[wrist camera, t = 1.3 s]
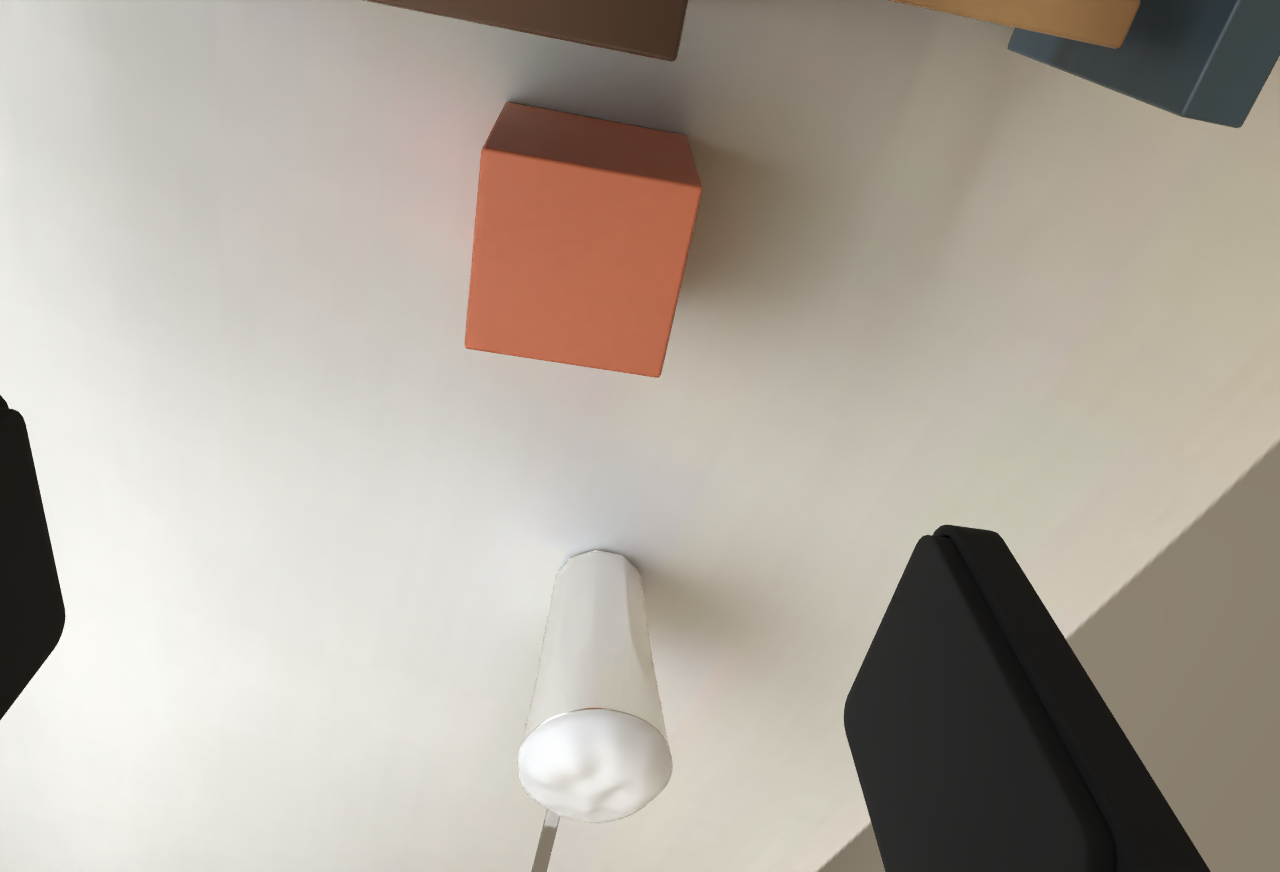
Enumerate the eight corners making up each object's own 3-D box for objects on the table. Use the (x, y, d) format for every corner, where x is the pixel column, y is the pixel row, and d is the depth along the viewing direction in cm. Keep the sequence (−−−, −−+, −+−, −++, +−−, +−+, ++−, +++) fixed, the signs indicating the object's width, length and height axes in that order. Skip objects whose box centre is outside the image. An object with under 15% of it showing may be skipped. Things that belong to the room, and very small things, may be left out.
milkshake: (504, 608, 33) (466, 856, 24) (579, 515, 30) (568, 753, 22) (603, 654, 34) (600, 903, 26) (682, 569, 32) (708, 811, 23)
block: (687, 134, 24) (703, 187, 19) (652, 301, 26) (660, 379, 22) (505, 100, 23) (480, 147, 19) (488, 274, 26) (463, 349, 21)
